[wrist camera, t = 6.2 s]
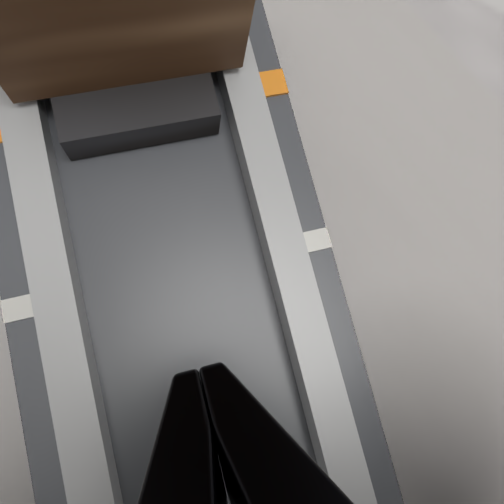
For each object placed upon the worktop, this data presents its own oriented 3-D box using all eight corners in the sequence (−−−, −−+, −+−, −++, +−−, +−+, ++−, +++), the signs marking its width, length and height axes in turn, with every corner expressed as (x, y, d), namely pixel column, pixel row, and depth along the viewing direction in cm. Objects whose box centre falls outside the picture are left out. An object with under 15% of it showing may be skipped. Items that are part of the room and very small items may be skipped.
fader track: (425, 644, 13) (477, 710, 11) (103, 772, 12) (81, 883, 9) (252, 20, 16) (263, -36, 14) (-23, 59, 15) (-64, 4, 13)
